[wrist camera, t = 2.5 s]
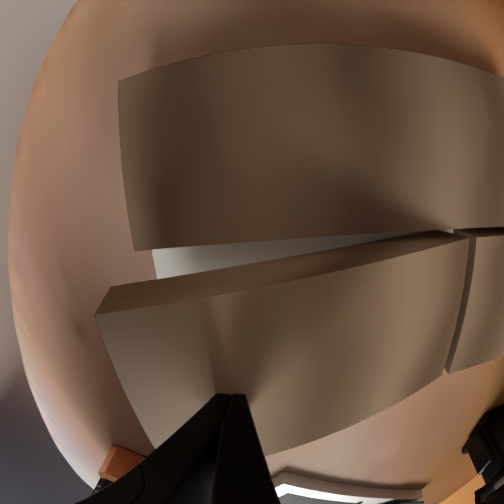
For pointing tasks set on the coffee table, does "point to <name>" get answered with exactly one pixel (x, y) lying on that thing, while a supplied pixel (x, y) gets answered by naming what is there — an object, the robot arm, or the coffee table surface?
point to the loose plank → (289, 336)
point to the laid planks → (323, 158)
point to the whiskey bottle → (116, 466)
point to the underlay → (252, 252)
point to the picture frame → (337, 492)
